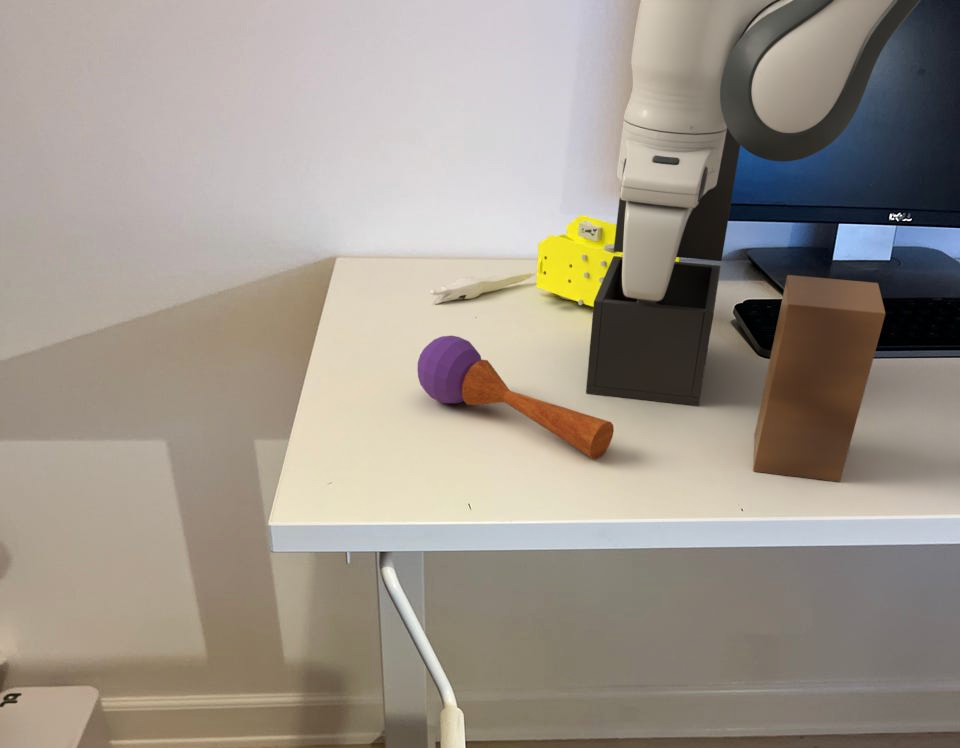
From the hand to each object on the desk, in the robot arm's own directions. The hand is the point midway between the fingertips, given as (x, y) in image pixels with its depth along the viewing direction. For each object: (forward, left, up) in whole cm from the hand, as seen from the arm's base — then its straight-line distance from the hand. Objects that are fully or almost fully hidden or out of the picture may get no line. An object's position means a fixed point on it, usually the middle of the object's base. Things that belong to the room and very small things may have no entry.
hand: (645, 315), depth 95 cm
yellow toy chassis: (+6, -17, -6) cm, 19 cm away
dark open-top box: (-1, 0, -6) cm, 6 cm away
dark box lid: (-1, -8, +11) cm, 13 cm away
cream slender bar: (+20, -18, -6) cm, 28 cm away
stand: (-15, +15, -6) cm, 22 cm away
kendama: (+10, +15, -6) cm, 19 cm away
